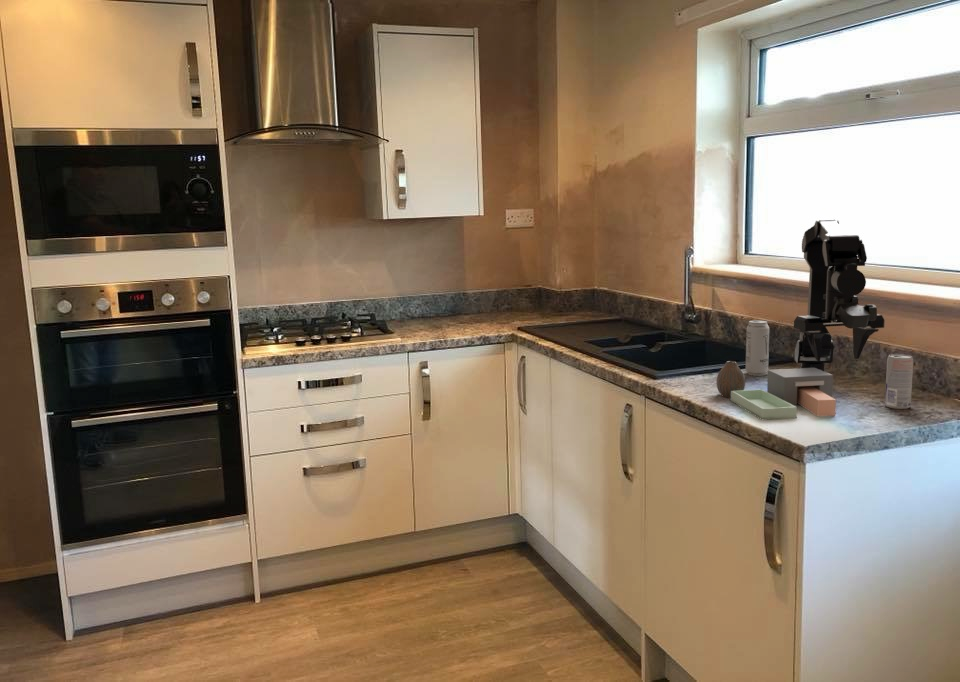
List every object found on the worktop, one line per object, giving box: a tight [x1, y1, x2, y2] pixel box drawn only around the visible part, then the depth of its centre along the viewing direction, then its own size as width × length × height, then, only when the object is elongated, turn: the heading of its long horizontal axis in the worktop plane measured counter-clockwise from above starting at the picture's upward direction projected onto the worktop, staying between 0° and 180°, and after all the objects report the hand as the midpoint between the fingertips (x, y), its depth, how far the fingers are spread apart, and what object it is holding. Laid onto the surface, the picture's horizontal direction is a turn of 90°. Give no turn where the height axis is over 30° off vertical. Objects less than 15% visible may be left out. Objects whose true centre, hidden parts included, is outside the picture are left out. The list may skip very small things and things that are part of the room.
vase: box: [716, 360, 746, 398], centre depth 202 cm, size 7×7×9 cm
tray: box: [730, 388, 798, 420], centre depth 189 cm, size 18×8×2 cm, turn 5°
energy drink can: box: [745, 319, 770, 377], centre depth 226 cm, size 6×6×15 cm
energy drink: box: [884, 353, 914, 410], centre depth 187 cm, size 5×5×12 cm
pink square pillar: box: [797, 386, 837, 417], centre depth 188 cm, size 14×4×4 cm, turn 179°
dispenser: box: [766, 367, 834, 407], centre depth 195 cm, size 10×12×7 cm
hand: (837, 359), depth 182 cm, fingers open, 9 cm apart
